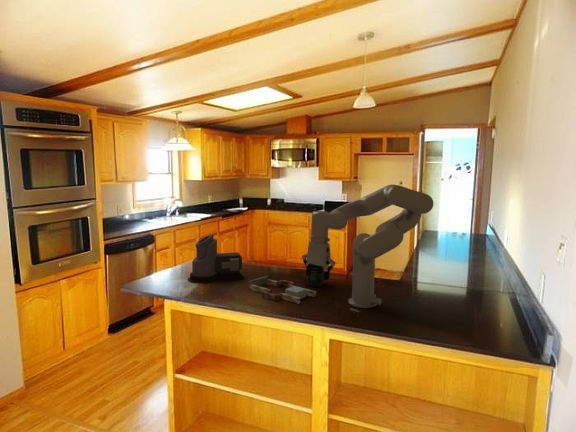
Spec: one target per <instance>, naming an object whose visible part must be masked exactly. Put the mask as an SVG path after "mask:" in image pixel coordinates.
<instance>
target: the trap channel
mask: <svg viewBox="0 0 576 432" xmlns="http://www.w3.org/2000/svg"><path fill="white" fill-rule="evenodd" d="M247 283H248V285H247V286H248V287H247V289H248V290H250V291H253V292H255V293H256V292H257V293H260V294H262V298H263V299H267V300H271V301H273V302H279V301H281V300H283V301H287V302H291V303H293V304H297V305H300V304H301V299H300V298H299V297H295V296H292V295H288V294H285V292H280V293H276V294H274V293H273V290H272V289H270V288H266V287H264V286H266V285H267V286H268V285H269V286H272V287H276V288H279V287H282V286H283V287H286V289H288V288H290V287H293V286H296V282H293V281H289V280H287V279H286V280H284V279H281V280H274V279H269V275H265V276H262V277H258V278H255V279H252V280H248V281H247ZM303 288H304V289H306V296H309V297H312V298H316V297H317V291H316V290H312V289H309V288H305V287H303Z"/></svg>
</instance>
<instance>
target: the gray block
mask: <svg viewBox="0 0 576 432" xmlns="http://www.w3.org/2000/svg"><path fill="white" fill-rule="evenodd" d="M304 288H305V287H301V286H296V285H295V286H293V287H290V288H288V289H287V288H285V289H284V293H285V294H288V295H292V296H295V297H299V298H300V300H301V299H304V298H306V297H307V295H306V289H307V288H305V289H304Z"/></svg>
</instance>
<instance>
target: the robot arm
mask: <svg viewBox="0 0 576 432" xmlns="http://www.w3.org/2000/svg"><path fill="white" fill-rule="evenodd" d="M390 206H396V207H399V208H402V211H401V212H399V214H397V215H394V216H393V217H392V218H390V219H388V220H386V221H384V222H382V223H380V224H379V225H378V226H376V229H375V231H374V232H375V233H373V234H372V235H371V234H369V233H367V232H364V233H359V234H357V235H356V236H355V237H354V239H353V241H352V282H351V283H352V285H351V286H352V287H351V289H352V290H351V297H349V299H347V301H348V304H349V305H350V306H352V307H354V308H355V307H356V308H361V309H370V308H375V307H376V306H377V305H379V306H380V305H382V298H379V297H378V298H377V295H376V294H375V292H374V291H375V276H376V275H375V270H376V269H375V268H376V259H377V258H379V257H382V256H383V255H385V254H387V253H389V252H390V251H392V250H394V249H396V248H398V246H400V244H401V243H402V242H403V240H404V237H405V234H406V233H408V232H409V231H411V230H413V229H414V228H415V227H416V226H417V225H418V224H419V222H420V220H421V218H422V216H423V215H425V214H427V213H430V212H431V211H432V210H433V208H434V200H433V198H432V197H431V196H430V195H429V194H427V193H425V192H421V191H417V190H414V189H411V188H408V187H405V186H403V185H399V184H388V185H385V186H383V187H381V188H379V189H378V190H375V191H372V192H371V193H369V194H367V195H364V196H363V197H360V198H358V199H355V200H353V201H350V202H348V203H345V204H343V205H341V206H338V207H337V208H335V209H332V210H331V211H330V212H328V211H323V210H315V211H312V213H311V223H310V224H311V225H310V241H309V243H308V245H307V253H306V254H304V255H301V258H302V260H303V261H302V262H303V264H304V267H305V276H307V277H308V275H311V269H312V267H311V266H310V265H311V264H314V265H318V266H323V267H324V281H328V280H330V275H331V271H332V270H333V269H334V268H335V265H336V261H334V260H333V259H332V258H331V257H332V256H331V254H332V253H331V246H330V241H331V238H330V237H329V229H331V230H337V231H338V230H339V231H340V230H342V229H345V228H346V226H347V225H348V221H350V220H351V221H352V220H353V219H355V218H360V217H366V216H367V217H368V216H371V215H374V214H376V213H379V212H380V211H382V210H384V209H387V208H389V207H390Z"/></svg>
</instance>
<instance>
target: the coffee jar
mask: <svg viewBox="0 0 576 432" xmlns="http://www.w3.org/2000/svg"><path fill="white" fill-rule="evenodd" d="M310 266H311V267H312V269H311V275H308V276H307V285H308V286H310V287H313V288H315V287H321V286H323V285H324V284H325V280H324V271H325V269H324V267H323V266H318V265H314V264H311V265H310Z"/></svg>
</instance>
